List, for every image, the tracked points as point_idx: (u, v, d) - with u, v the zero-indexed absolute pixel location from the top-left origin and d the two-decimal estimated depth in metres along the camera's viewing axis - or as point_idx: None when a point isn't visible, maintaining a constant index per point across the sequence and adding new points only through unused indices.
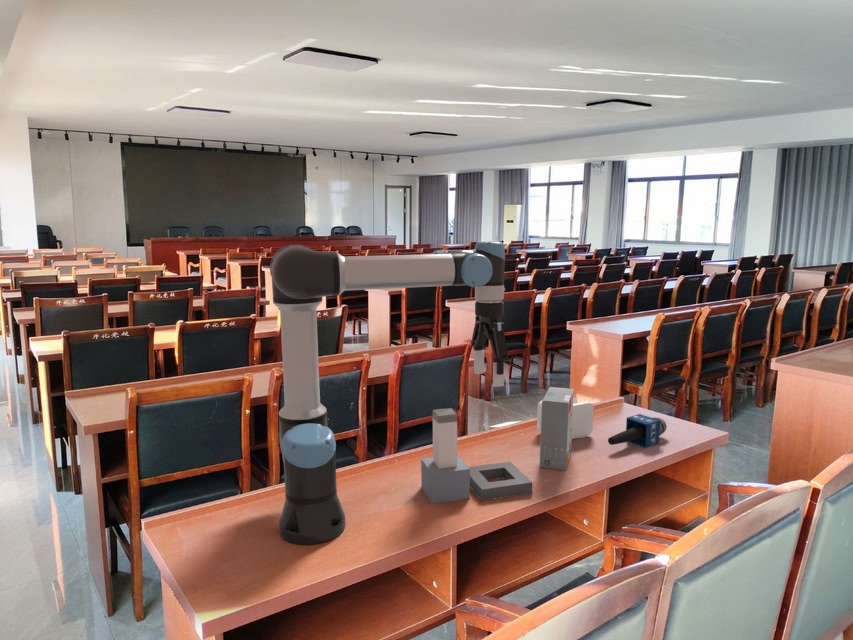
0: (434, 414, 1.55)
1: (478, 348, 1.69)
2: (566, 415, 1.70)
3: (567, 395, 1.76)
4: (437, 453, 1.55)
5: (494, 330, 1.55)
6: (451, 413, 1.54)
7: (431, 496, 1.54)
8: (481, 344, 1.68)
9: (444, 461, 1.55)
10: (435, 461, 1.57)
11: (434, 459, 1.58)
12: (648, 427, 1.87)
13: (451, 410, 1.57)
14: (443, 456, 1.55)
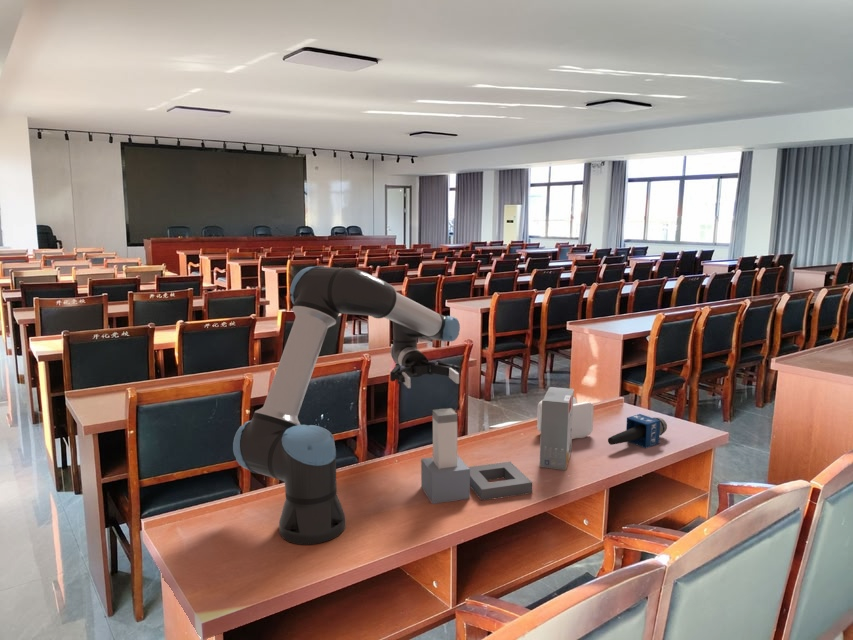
0: (434, 414, 1.55)
1: None
2: (566, 415, 1.70)
3: (567, 395, 1.76)
4: (437, 453, 1.55)
5: (440, 362, 1.79)
6: (451, 413, 1.54)
7: (431, 496, 1.54)
8: None
9: (444, 461, 1.55)
10: (435, 461, 1.57)
11: (434, 459, 1.58)
12: (648, 427, 1.87)
13: (451, 410, 1.57)
14: (443, 456, 1.55)
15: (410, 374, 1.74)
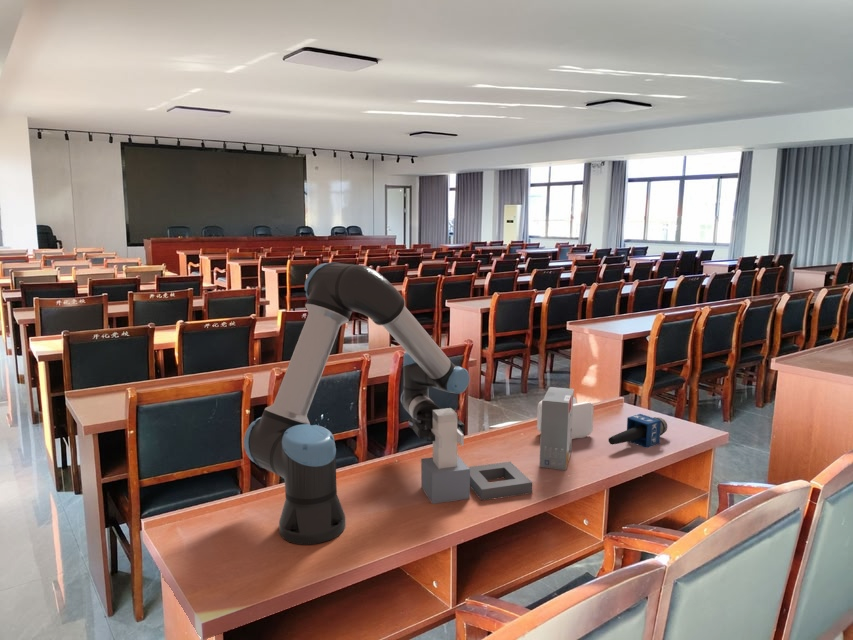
0: (434, 414, 1.55)
1: None
2: (566, 415, 1.70)
3: (567, 395, 1.76)
4: (437, 453, 1.55)
5: None
6: (451, 413, 1.54)
7: (431, 496, 1.54)
8: None
9: (444, 461, 1.55)
10: (435, 461, 1.57)
11: (434, 459, 1.58)
12: (649, 427, 1.87)
13: (451, 410, 1.57)
14: (443, 456, 1.55)
15: None
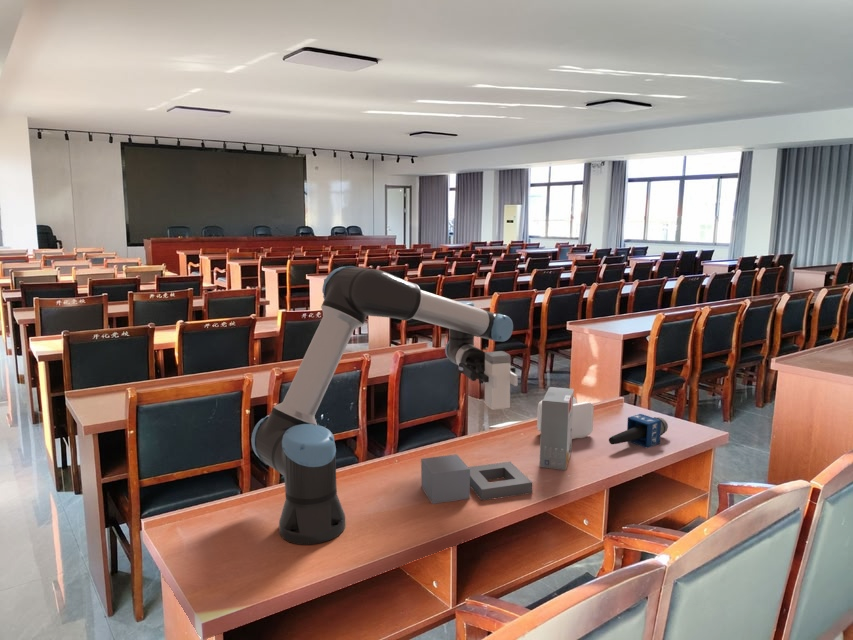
0: (487, 356, 1.57)
1: None
2: (566, 415, 1.70)
3: (567, 395, 1.76)
4: (491, 394, 1.56)
5: None
6: (504, 355, 1.56)
7: (431, 496, 1.54)
8: None
9: (497, 402, 1.57)
10: (487, 403, 1.59)
11: (486, 401, 1.60)
12: (649, 427, 1.87)
13: (503, 352, 1.58)
14: (496, 397, 1.56)
15: None
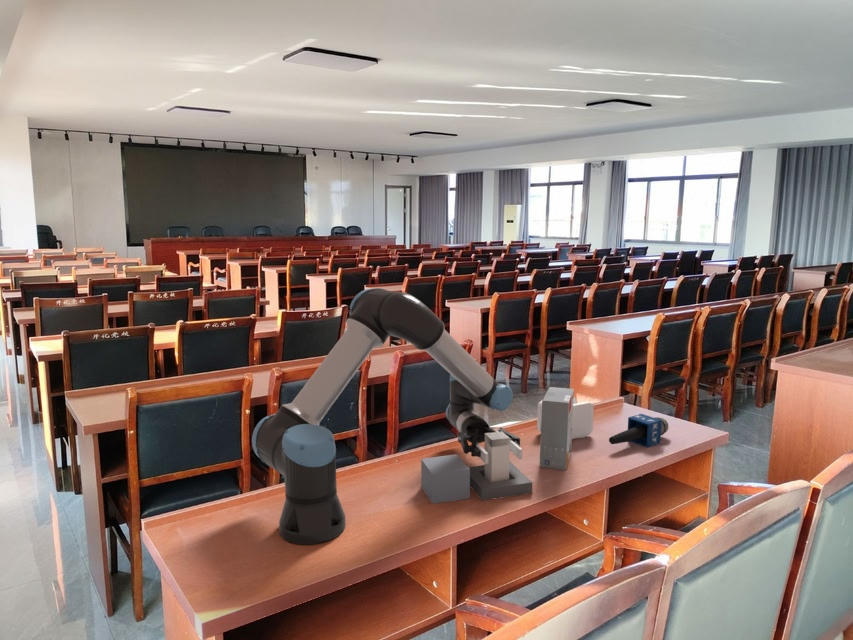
0: (487, 438, 1.61)
1: None
2: (566, 415, 1.70)
3: (567, 395, 1.76)
4: (490, 475, 1.60)
5: (502, 430, 1.73)
6: (504, 437, 1.59)
7: (431, 496, 1.54)
8: None
9: None
10: None
11: None
12: (649, 427, 1.87)
13: (503, 434, 1.62)
14: (496, 478, 1.60)
15: (477, 443, 1.68)
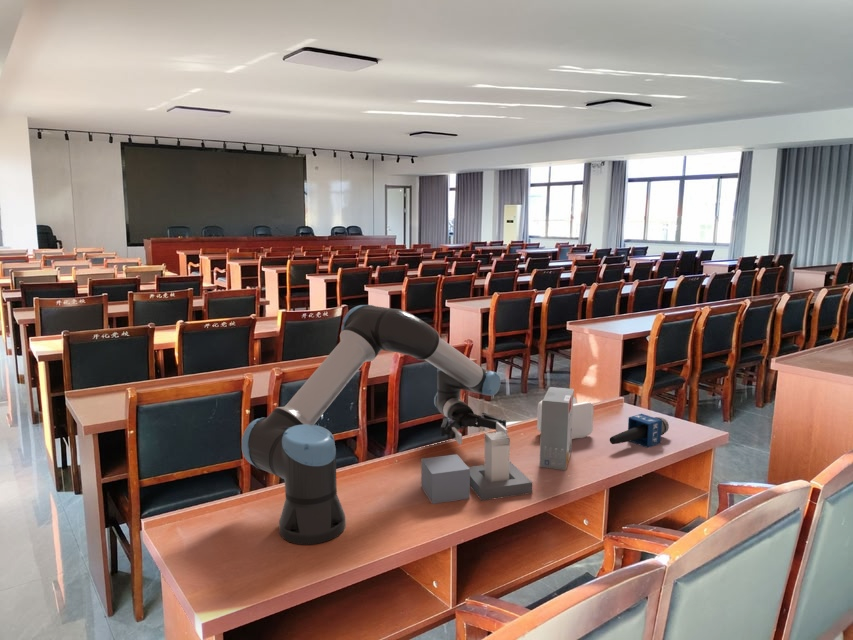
0: (487, 438, 1.61)
1: None
2: (566, 415, 1.70)
3: (567, 395, 1.76)
4: (490, 475, 1.60)
5: (485, 414, 1.86)
6: (504, 437, 1.59)
7: (431, 496, 1.54)
8: None
9: None
10: None
11: None
12: (650, 427, 1.87)
13: (503, 434, 1.62)
14: (496, 478, 1.60)
15: (458, 427, 1.81)
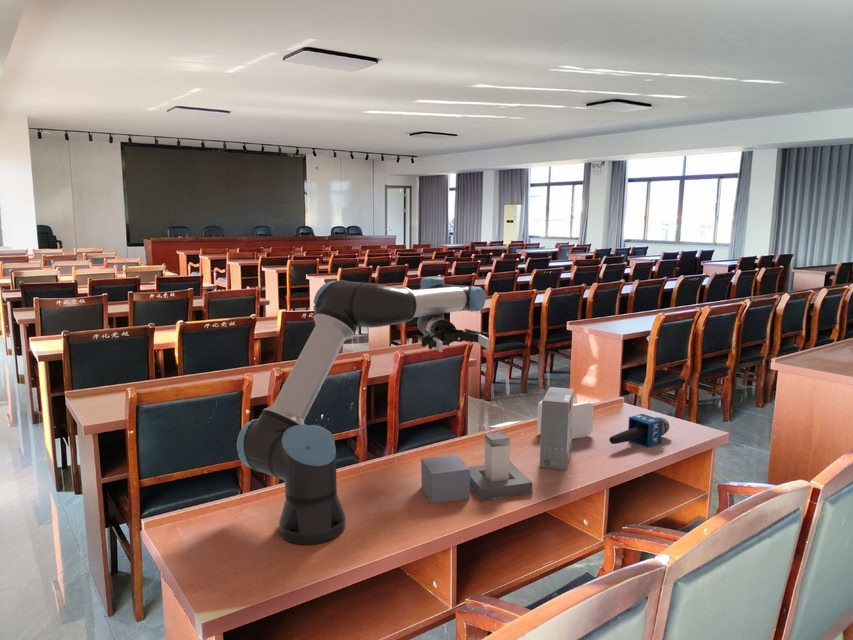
0: (487, 438, 1.61)
1: None
2: (566, 415, 1.70)
3: (567, 395, 1.76)
4: (490, 475, 1.60)
5: (468, 330, 1.83)
6: (504, 437, 1.59)
7: (431, 496, 1.54)
8: None
9: None
10: None
11: None
12: (650, 427, 1.87)
13: (503, 434, 1.62)
14: (496, 478, 1.60)
15: (440, 341, 1.78)
